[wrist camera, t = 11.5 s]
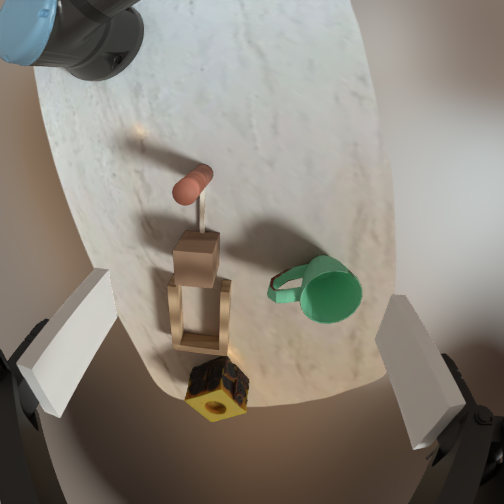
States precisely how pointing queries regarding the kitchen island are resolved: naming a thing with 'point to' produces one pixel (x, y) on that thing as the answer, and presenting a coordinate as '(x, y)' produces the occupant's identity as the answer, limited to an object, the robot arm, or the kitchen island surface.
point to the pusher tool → (196, 235)
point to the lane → (195, 340)
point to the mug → (320, 290)
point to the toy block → (218, 389)
